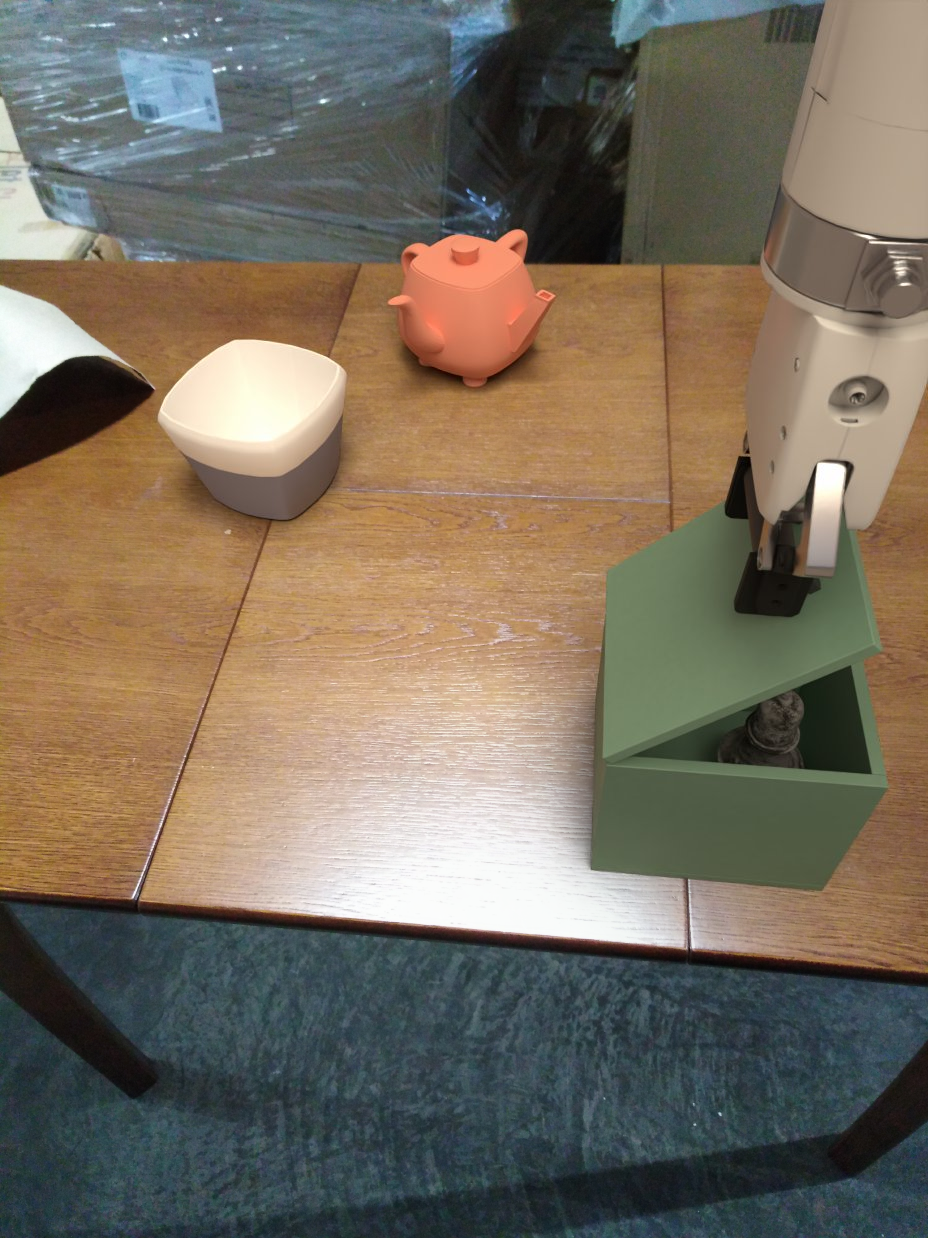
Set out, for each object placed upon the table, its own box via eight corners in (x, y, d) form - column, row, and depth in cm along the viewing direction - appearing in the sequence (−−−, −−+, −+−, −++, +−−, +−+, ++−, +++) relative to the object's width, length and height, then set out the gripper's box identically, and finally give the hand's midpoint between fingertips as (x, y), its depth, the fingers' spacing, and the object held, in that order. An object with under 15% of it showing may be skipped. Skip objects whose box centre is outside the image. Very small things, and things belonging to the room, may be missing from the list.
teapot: (555, 388, 98) (558, 273, 87) (401, 410, 97) (387, 296, 86) (525, 310, 108) (525, 198, 98) (386, 329, 107) (371, 218, 97)
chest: (796, 712, 70) (848, 591, 59) (822, 891, 61) (889, 787, 50) (595, 698, 72) (609, 577, 61) (590, 870, 62) (605, 765, 51)
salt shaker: (793, 760, 66) (838, 662, 57) (790, 830, 63) (836, 739, 53) (713, 743, 67) (743, 645, 58) (704, 812, 64) (735, 719, 55)
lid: (837, 446, 50) (782, 388, 48) (884, 652, 41) (818, 594, 38) (614, 576, 60) (559, 534, 58) (611, 764, 51) (546, 724, 49)
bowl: (169, 508, 88) (131, 417, 80) (255, 418, 97) (229, 326, 88) (301, 551, 84) (276, 459, 75) (379, 452, 92) (365, 359, 84)
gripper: (1042, 382, 28) (857, 702, 42) (926, 138, 39) (809, 457, 53) (795, 370, 29) (694, 689, 43) (749, 133, 39) (680, 450, 53)
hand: (759, 559), depth 47 cm, fingers closed on lid, 6 cm apart
